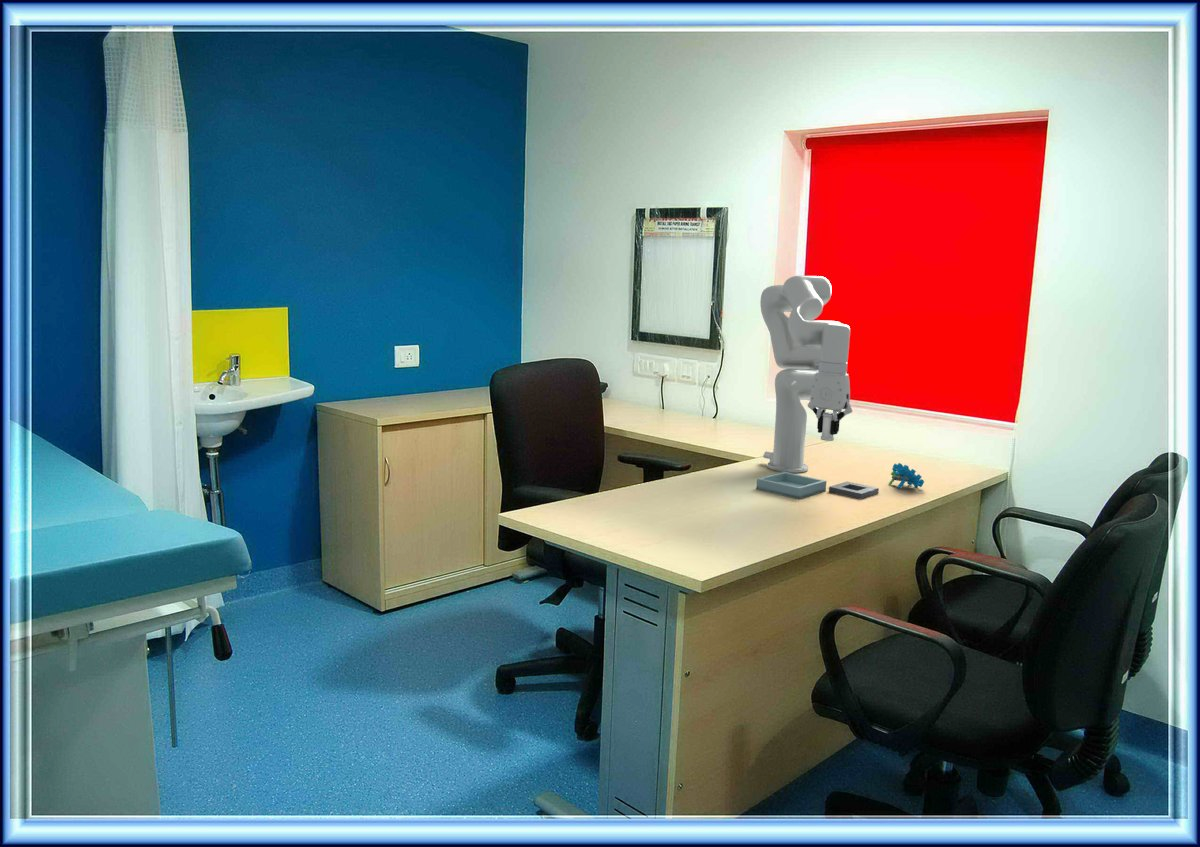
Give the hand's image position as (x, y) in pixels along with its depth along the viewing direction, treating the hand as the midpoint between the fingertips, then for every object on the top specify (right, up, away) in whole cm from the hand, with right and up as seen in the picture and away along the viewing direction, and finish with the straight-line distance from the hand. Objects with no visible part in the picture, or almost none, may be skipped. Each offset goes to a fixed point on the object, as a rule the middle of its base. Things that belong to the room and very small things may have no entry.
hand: (827, 432), depth 252 cm
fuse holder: (+8, -17, +3) cm, 19 cm away
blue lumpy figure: (+26, -16, +11) cm, 32 cm away
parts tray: (-10, -16, +3) cm, 19 cm away
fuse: (0, -2, 0) cm, 2 cm away
